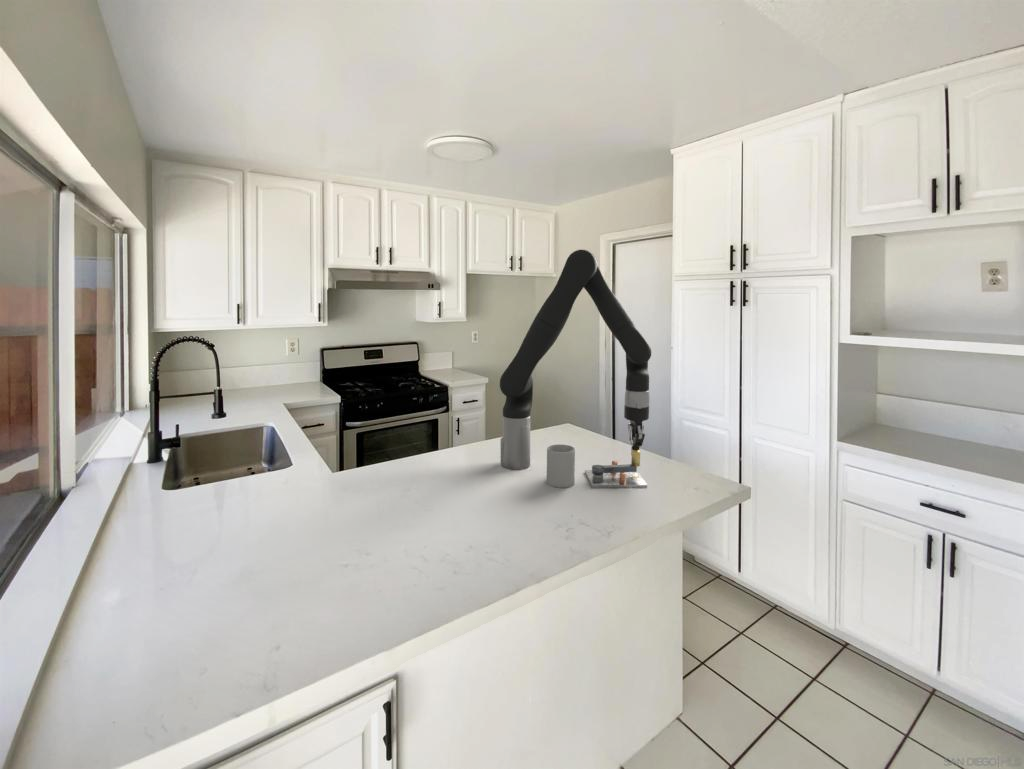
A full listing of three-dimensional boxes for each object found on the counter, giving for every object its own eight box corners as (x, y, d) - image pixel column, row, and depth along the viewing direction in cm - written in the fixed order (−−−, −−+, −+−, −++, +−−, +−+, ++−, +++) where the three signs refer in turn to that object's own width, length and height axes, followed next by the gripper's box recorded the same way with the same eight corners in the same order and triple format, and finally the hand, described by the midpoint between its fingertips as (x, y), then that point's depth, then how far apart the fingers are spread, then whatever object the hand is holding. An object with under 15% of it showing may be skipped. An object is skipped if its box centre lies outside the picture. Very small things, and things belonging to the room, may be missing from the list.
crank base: (591, 487, 144) (592, 474, 144) (584, 472, 157) (585, 460, 157) (647, 487, 145) (647, 474, 144) (635, 472, 158) (636, 460, 157)
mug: (576, 488, 144) (577, 452, 142) (547, 488, 144) (548, 452, 142) (570, 473, 156) (571, 440, 154) (544, 474, 156) (544, 441, 154)
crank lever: (593, 474, 148) (594, 454, 147) (590, 470, 152) (590, 450, 151) (641, 472, 150) (642, 452, 149) (637, 468, 154) (637, 448, 153)
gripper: (620, 399, 159) (619, 450, 162) (629, 408, 146) (627, 464, 149) (643, 399, 158) (641, 450, 162) (654, 408, 145) (652, 463, 149)
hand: (635, 456), depth 155 cm, fingers closed
